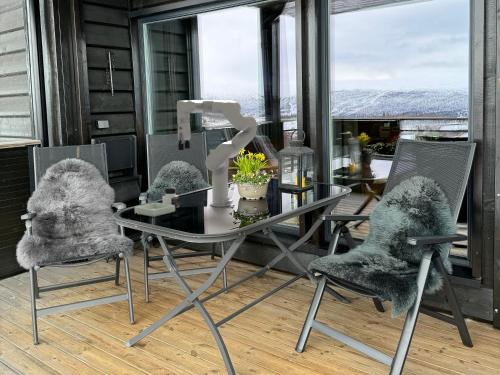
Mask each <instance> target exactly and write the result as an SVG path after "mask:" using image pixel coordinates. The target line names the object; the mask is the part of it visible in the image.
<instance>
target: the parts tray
mask: <svg viewBox="0 0 500 375" xmlns="http://www.w3.org/2000/svg"><path fill="white" fill-rule="evenodd" d="M174 212H176V208H175V205H169V204H163V202H151V203H147V204H142V205H138V206H134V214H136V213H137V214H136V215H141V216H142V215H143V216H148V217H159V216H163V215H166V214H167V215H168V214H171V213H174Z"/></svg>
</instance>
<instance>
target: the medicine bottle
mask: <svg viewBox="0 0 500 375" xmlns="http://www.w3.org/2000/svg"><path fill="white" fill-rule="evenodd" d="M164 190H165V195H162V196H161V197H162V198H161V200H162V204H169V205H175V209H178V208H179V207H180V196H179V195H177V194H176V188H175V187H172V186H171V187H166V188H165V189H164Z"/></svg>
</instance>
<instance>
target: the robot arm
mask: <svg viewBox="0 0 500 375" xmlns="http://www.w3.org/2000/svg"><path fill="white" fill-rule="evenodd" d="M241 110H242V106H241V104H240V103H239V102H238V101H235V100H216V99H215V100H203V99H202V100H200V99H199V100H197V99H196V100H194V99H193V100H177V102H176V117H177V144H178V145H177V146H178V151H184V149H185V150H186V149H191V144H190V141H191V138H192V137H191V136H192V134H191V126H190V125H191V122H190V121H191V120H190V119H191V118H190V116H191V115H190V114H212V115H214V116H223V117H224V118H225V119H226V120H227V121H228V122H229V124H231V126H233V128H234V129H235V130H237V131H239V132H238V133H237V134H235V135H234V136H233V138H231V139H230V140H228V141H225V142H222V143H220V144H219V145H217V146H216V148H214V149H213V151H212V152H211V153H209V154H208V155H207V157H206V158H205V160H204V164H205V167H206V168H207V169H208V170H209V171H212V173H211V191H212V195H211V196H212V202H210V203H209V205H210V207H215V208H216V207H217V208H222V207H229V206H231V205H232V204H233V203H234V200H232V199H230V197H229V165H230V161H229V160H230V159H233V158H234V157H236V156H237V155H238V154H239V153H240V152H241V151H242V150H244V149H245V147H246V146H247V145H248V144H250V142H251V141H253V139H254V138H255V136H256V134H257V133H258V132H257V131H258V123H257V120H256V118H255V117H254V116H252V115H247V114H245V115H243V114H242V113H241Z"/></svg>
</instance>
